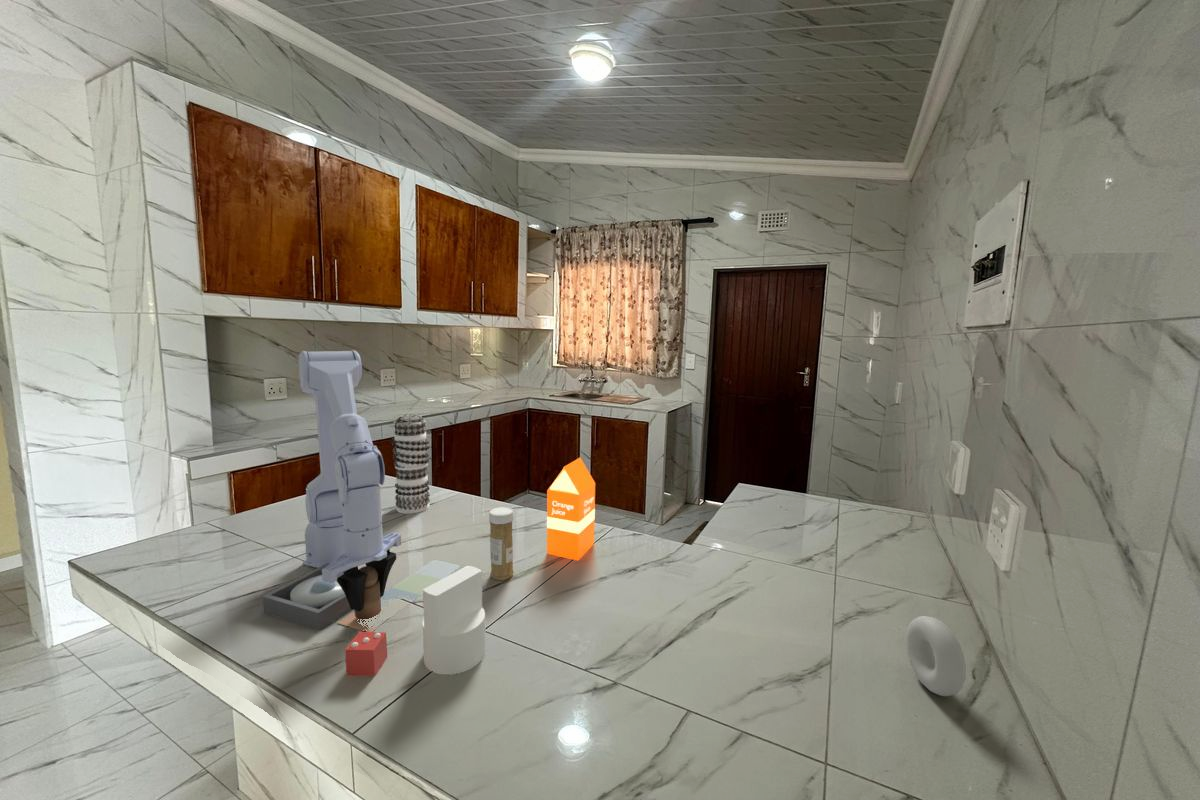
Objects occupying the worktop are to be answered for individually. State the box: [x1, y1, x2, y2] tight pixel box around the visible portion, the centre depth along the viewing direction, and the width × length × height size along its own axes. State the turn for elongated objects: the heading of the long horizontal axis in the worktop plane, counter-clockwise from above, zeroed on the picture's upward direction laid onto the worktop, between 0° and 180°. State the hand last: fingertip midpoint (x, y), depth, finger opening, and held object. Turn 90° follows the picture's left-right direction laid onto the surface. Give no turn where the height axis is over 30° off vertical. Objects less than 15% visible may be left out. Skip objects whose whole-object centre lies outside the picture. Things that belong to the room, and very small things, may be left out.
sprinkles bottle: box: [488, 506, 514, 581], centre depth 97 cm, size 5×5×14 cm
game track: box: [337, 559, 462, 632], centre depth 91 cm, size 7×24×1 cm, turn 160°
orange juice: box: [546, 457, 596, 561], centre depth 108 cm, size 8×9×20 cm
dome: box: [290, 575, 345, 609], centre depth 87 cm, size 10×10×4 cm
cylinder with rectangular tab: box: [422, 565, 487, 676], centre depth 74 cm, size 9×9×12 cm
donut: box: [905, 615, 967, 697], centre depth 69 cm, size 10×4×10 cm, turn 179°
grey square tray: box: [261, 563, 352, 631], centre depth 87 cm, size 13×13×3 cm
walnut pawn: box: [354, 565, 381, 619], centre depth 82 cm, size 4×4×8 cm
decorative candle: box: [391, 414, 431, 514], centre depth 130 cm, size 9×9×25 cm
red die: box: [344, 631, 388, 677], centre depth 71 cm, size 4×4×4 cm
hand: (367, 602), depth 82 cm, fingers closed on walnut pawn, 4 cm apart
